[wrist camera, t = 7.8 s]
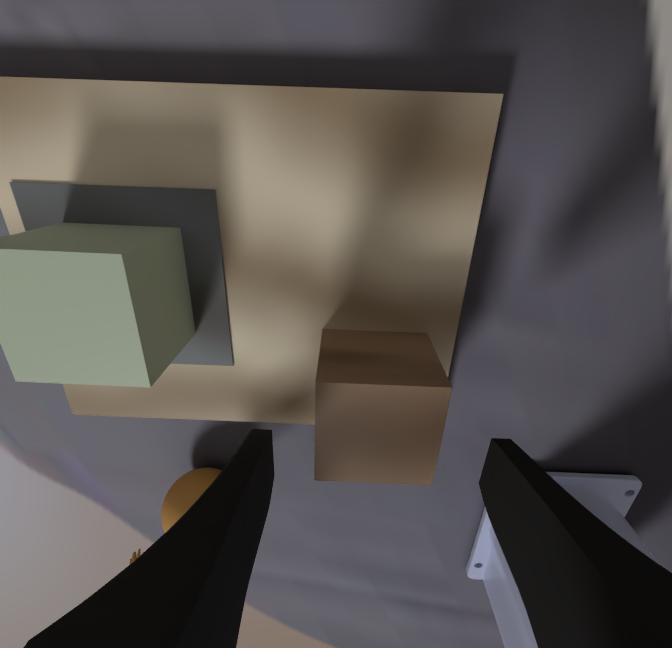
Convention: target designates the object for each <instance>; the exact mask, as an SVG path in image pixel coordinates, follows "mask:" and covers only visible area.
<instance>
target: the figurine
mask: <svg viewBox="0 0 672 648" xmlns="http://www.w3.org/2000/svg"><path fill="white" fill-rule="evenodd" d="M221 471H222V470H219V469H216V468H210V467H205V468H198V469H195V470H192V471H190V472H188V473H186V474H184V475H183V476H182V477H180V478H179V479H178V480H177V481H176V482H175V483H174V484H173V485H172V487H171V488H170V489H169V491H168V493H167V495H166V497H165V499H164V502H163V506H162V512H161V520H162V526H163V529H164V532H165V533H166V532H167V531H168V530H169V529H170V528H171V527H172V526H173V525H174V524H175V523H176V522H177V521H178V520H179V519H180V518H181V517H182V516H183V515H184V514H185V513H186V512H187V510H188V509H189V508H190V507H191V506H192V505H193V504H194V503H195V502H196V501H197V499H198V498H199V497H200V496H201V495H202V494H203V493H204V491H205V490H206V489H207V488H208V487H209V486H210V485H211V483H212V482H213V481H214V480H215V479H216V477H217V476H218V475H219V474H220V472H221ZM139 556H140V549H139V551H138V554H137V558H138V557H139ZM137 558H136V552H134V553H133V556H132V559H130V564H131V563H132V562H134V561H135V560H136V559H137Z"/></svg>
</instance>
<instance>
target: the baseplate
mask: <svg viewBox="0 0 672 648" xmlns="http://www.w3.org/2000/svg"><path fill="white" fill-rule="evenodd" d="M502 99H503V94H493V93H464V92H435V91H406V90H377V89H347V88H318V87H289V86H260V85H231V84H202V83H173V82H144V81H115V80H85V79H56V78H27V77H0V208H1V211H2V213H3V216H4V219H5V222H6V225H7V228H8V231H9V233H10V235H13V234H17V233H21V232H26V231H30V230H34V229H38V228H42V227H46V226H50V225H54V224H59V223H84V224H107V225H130V226H152V227H175V228H181V235H182V242H183V249H184V256H185V263H186V270H187V277H188V284H189V291H190V298H191V305H192V312H193V319H194V326H195V333H196V334H195V335H194V336H193V337H192V338H191V340H190V341H189V342H188V343H187V344H186V346H185V347H184V348H183V349H182V350H181V352H180V353H179V354H178V355H177V356H176V358H175V359H174V360H173V361H172V362H171V364H170V365H169V366H168V367H167V368H166V370H165V371H164V372H163V373H162V374H161V376H160V377H159V378H158V379H157V380H156V382H155V383H154V384H153V385H152V386H151V388H148V387H126V386H105V385H83V384H63V387H64V390H65V393H66V396H67V399H68V402H69V404H70V407H71V410H72V413H73V415H96V416H121V417H145V418H169V419H194V420H218V421H243V422H267V423H291V424H315V382H316V374H317V366H318V359H319V351H320V343H321V336H322V329H339V330H365V331H390V332H416V333H427V334H428V336H429V338H430V340H431V342H432V344H433V347H434V349H435V351H436V353H437V355H438V358H439V360H440V362H441V364H442V366H443V368H444V371H445V373H446V375H447V377H448V375H449V369H450V364H451V359H452V354H453V349H454V344H455V339H456V334H457V329H458V324H459V318H460V313H461V308H462V303H463V298H464V293H465V288H466V283H467V278H468V273H469V267H470V262H471V257H472V252H473V247H474V242H475V237H476V232H477V227H478V222H479V217H480V211H481V206H482V201H483V196H484V191H485V186H486V181H487V176H488V171H489V166H490V160H491V155H492V150H493V145H494V140H495V135H496V130H497V125H498V120H499V115H500V109H501V104H502Z"/></svg>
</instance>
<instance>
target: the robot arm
mask: <svg viewBox="0 0 672 648" xmlns="http://www.w3.org/2000/svg"><path fill="white" fill-rule="evenodd" d="M273 480H274V462H273V444H272V430H261V429H253V430H252V431H250V433H249V434H248V436H247V437H246V439H245V440H244V441H243V443H242V444H241V446H240V447H239V449H238V450H237V451H236V453H235V454H234V455H233V457H232V458H231V460H230V461H229V462H228V463H227V465H226V466H225V467H224V469H223V470H222V471H221V472H220V474H219V475H218V476H217V477H216V479H215V480H214V481H213V482H212V483H211V485H210V486H209V487H208V488H207V489H206V490H205V491H204V493H203V494H202V495H201V496H200V497H199V498H198V499H197V501H196V502H195V503H194V504H193V505H192V506H191V507H190V508H189V509H188V510H187V512H186V513H185V514H184V515H183V516H182V517H181V518H180V519H179V520H178V521H177V522H176V523H175V524H174V525H173V526H172V527H171V528H170V529H169V530H168V531H167V532H166V533H165V534H164V535H163V536H161V537H160V538H159V539H158V540H157V541H156V542H155V543H154V544H153V545H152V546H150V548H148V549H147V550H146V551H145V552H144V553H143V554H142V555H141V556H139V557H138V558H137V559H136V560H135V561H134V562H132V563H131V564H130V565H129V566H128V567H127V568H125V569H124V570H123V571H122V572H120V573H119V574H118V575H117V576H115V577H114V578H113V579H112V580H110V581H109V582H108V583H107V584H105V585H104V586H103V587H102V588H100V589H99V590H98V591H97V592H95V593H94V594H93V595H92V596H90V597H89V598H88V599H86V600H85V601H84V602H82V603H81V604H80V605H78V606H77V607H75V608H74V609H73V610H71V611H70V612H68V613H67V614H66V615H64V616H63V617H61V618H60V619H59V620H57V621H56V622H54V623H53V624H52V625H50V626H49V627H47V628H46V629H45V630H43V631H42V632H40V633H39V634H37V635H36V636H34V637H33V638H32V639H30V640H29V641H28V642H27V644H26V645H25V647H24V648H236V645H237V639H238V634H239V628H240V623H241V617H242V612H243V607H244V601H245V596H246V592H247V588H248V584H249V579H250V576H251V572H252V568H253V565H254V561H255V557H256V554H257V550H258V546H259V543H260V539H261V535H262V532H263V528H264V524H265V521H266V517H267V513H268V509H269V505H270V499H271V493H272V487H273ZM479 485H480V489H481V493H482V497H483V501H484V504H485V508H484V512H483V515H482V518H481V522H480V525H479V528H478V531H477V535H476V538H475V541H474V545H473V548H472V551H471V554H470V558H469V561H468V564H467V568H466V572H467V576H468V577H469V578H471V579H482V580H483V581H484V584H485V588H486V591H487V594H488V597H489V600H490V603H491V606H492V609H493V612H494V615H495V618H496V622H497V625H498V628H499V631H500V634H501V637H502V640H503V643H504V646H505V648H672V573H671V572H669V571H668V570H666V569H665V568H663V567H662V566H661V565H660V564H659V562H658V561H657V560H656V558H655V557H654V556H653V554H652V553H651V552H650V551H649V549H648V548H647V547H646V545H645V544H644V543H643V541H642V540H641V539H640V538H639V536H638V535H637V534H636V532H635V531H634V530H633V528H632V527H631V526H630V525H629V523H628V522H627V521H626V519H625V516H626V514H627V512H628V510H629V509H630V507H631V505H632V503H633V501H634V500H635V498H636V496H637V494H638V492H639V491H640V489H641V487H642V482H641V481H640V480H639V479H638V478H637V477H636V476H633V475H612V474H588V473H564V472H545V471H544V470H543V469H542V468H541V467H540V466H539V465H538V464H537V463H536V462H535V461H534V460H533V459H531V458H530V457H529V456H528V455H527V454H526V453H525V452H524V451H523V450H522V449H521V448H520V447H519V446H518V445H517V444H515V443H514V442H513V441H512V440H511V439H497V438H492V439H491V442H490V446H489V449H488V453H487V456H486V460H485V463H484V467H483V470H482V474H481V477H480V481H479Z"/></svg>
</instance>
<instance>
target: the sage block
mask: <svg viewBox="0 0 672 648" xmlns="http://www.w3.org/2000/svg"><path fill="white" fill-rule="evenodd" d="M195 334H196V333H195V326H194V319H193V312H192V305H191V298H190V291H189V284H188V277H187V270H186V263H185V256H184V249H183V242H182V235H181V228H175V227H152V226H130V225H107V224H84V223H59V224H54V225H50V226H46V227H42V228H38V229H34V230H30V231H26V232H21V233H17V234H13V235H9V236H5V237H1V238H0V344H1V346H2V349H3V351H4V353H5V356H6V358H7V361H8V363H9V366H10V368H11V371H12V373H13V376H14V378H15V380H16V381H18V382H40V383H61V384H83V385H105V386H126V387H148V388H151V386H152V385H153V384H154V383H155V382H156V380H157V379H158V378H159V377H160V376H161V374H162V373H163V372H164V371H165V370H166V368H167V367H168V366H169V365H170V364H171V362H172V361H173V360H174V359H175V358H176V356H177V355H178V354H179V353H180V352H181V350H182V349H183V348H184V347H185V346H186V344H187V343H188V342H189V341H190V340H191V338H192V337H193V336H194V335H195Z"/></svg>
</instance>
